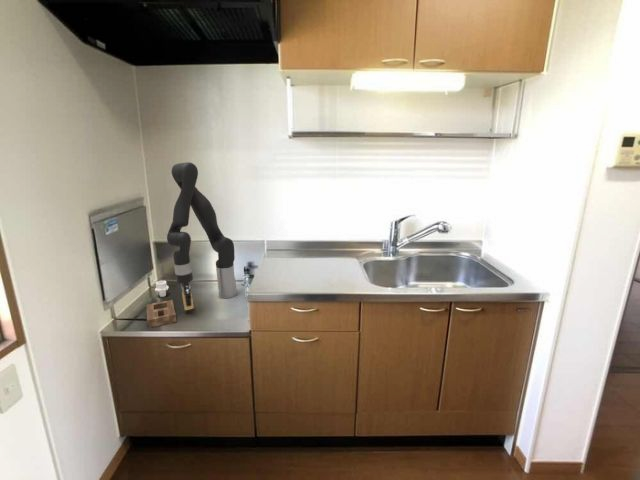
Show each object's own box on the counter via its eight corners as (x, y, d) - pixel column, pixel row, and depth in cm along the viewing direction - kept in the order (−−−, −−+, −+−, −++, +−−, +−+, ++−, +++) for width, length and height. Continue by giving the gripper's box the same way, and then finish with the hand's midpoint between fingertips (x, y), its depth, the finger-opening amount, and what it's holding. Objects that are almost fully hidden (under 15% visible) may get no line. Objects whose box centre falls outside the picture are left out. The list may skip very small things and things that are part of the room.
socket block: (173, 306, 180) (172, 299, 179) (176, 322, 164) (175, 314, 163) (147, 311, 175) (146, 304, 174) (148, 328, 159) (147, 320, 158)
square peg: (192, 305, 176) (190, 290, 174) (193, 308, 173) (191, 293, 170) (184, 307, 174) (181, 292, 172) (185, 310, 171) (182, 295, 169)
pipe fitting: (161, 292, 197) (159, 279, 195) (172, 294, 195) (170, 280, 193) (153, 297, 191) (151, 283, 189) (164, 298, 189) (162, 285, 187)
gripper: (194, 274, 164) (198, 308, 169) (189, 265, 176) (193, 297, 181) (177, 278, 160) (182, 311, 165) (173, 268, 173) (178, 300, 177)
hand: (188, 303), depth 173 cm, fingers closed on square peg, 4 cm apart
